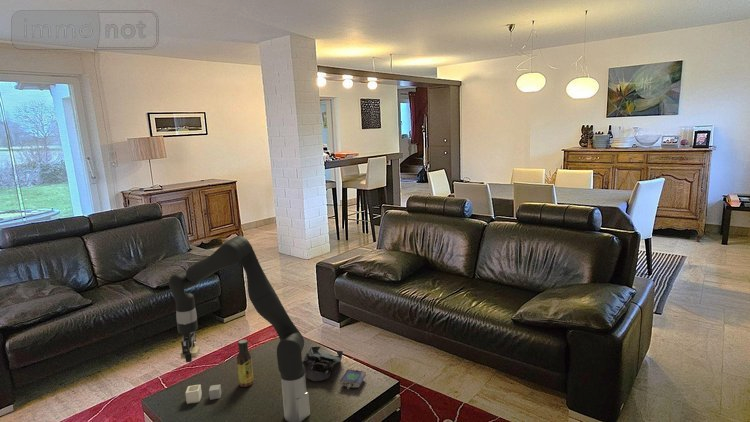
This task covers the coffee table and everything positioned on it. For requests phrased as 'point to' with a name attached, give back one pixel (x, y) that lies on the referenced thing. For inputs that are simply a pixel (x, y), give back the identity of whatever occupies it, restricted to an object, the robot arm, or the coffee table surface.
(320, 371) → the dark piece
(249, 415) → the coffee table surface
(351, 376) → the grey electronic device
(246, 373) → the sauce bottle
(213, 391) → the gray cube
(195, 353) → the lid
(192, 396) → the white cube box
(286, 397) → the robot arm
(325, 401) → the coffee table surface
